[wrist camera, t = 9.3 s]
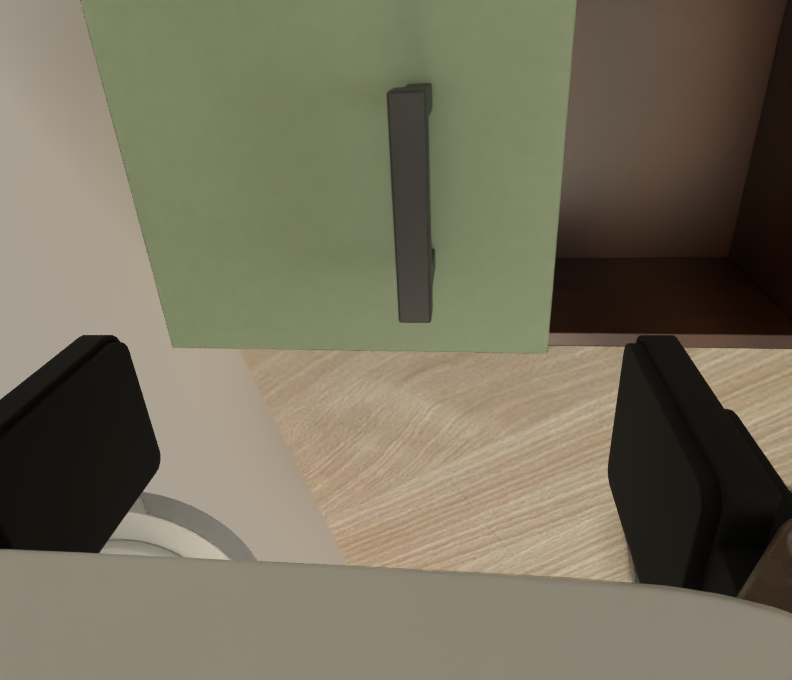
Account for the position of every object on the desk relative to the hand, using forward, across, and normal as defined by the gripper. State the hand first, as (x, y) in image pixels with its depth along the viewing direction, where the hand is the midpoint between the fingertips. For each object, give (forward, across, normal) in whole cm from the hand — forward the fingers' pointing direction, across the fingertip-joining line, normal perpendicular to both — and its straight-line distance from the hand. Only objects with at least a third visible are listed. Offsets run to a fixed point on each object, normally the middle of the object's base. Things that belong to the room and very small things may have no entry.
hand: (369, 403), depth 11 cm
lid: (+12, +3, -2) cm, 12 cm away
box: (+20, -7, -2) cm, 21 cm away
